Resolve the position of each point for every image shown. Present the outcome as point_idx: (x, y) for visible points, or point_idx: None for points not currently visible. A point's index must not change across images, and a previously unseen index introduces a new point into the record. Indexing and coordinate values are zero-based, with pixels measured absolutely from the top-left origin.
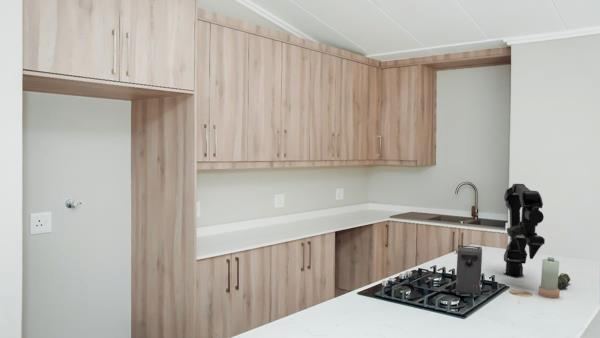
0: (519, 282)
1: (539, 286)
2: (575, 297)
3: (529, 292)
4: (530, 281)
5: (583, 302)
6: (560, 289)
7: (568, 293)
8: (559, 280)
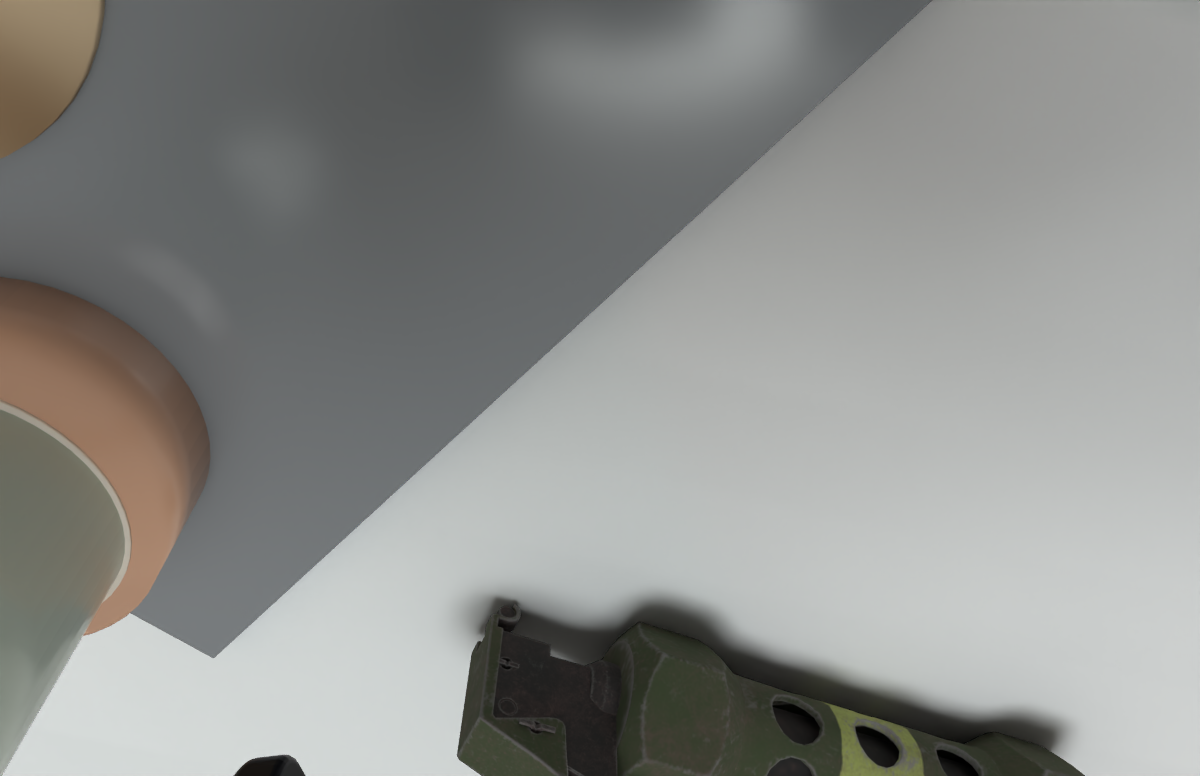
0: (991, 152)
1: (25, 386)
2: (282, 718)
3: (15, 139)
4: (1084, 382)
5: (77, 736)
6: (471, 662)
7: (457, 698)
8: (524, 771)
